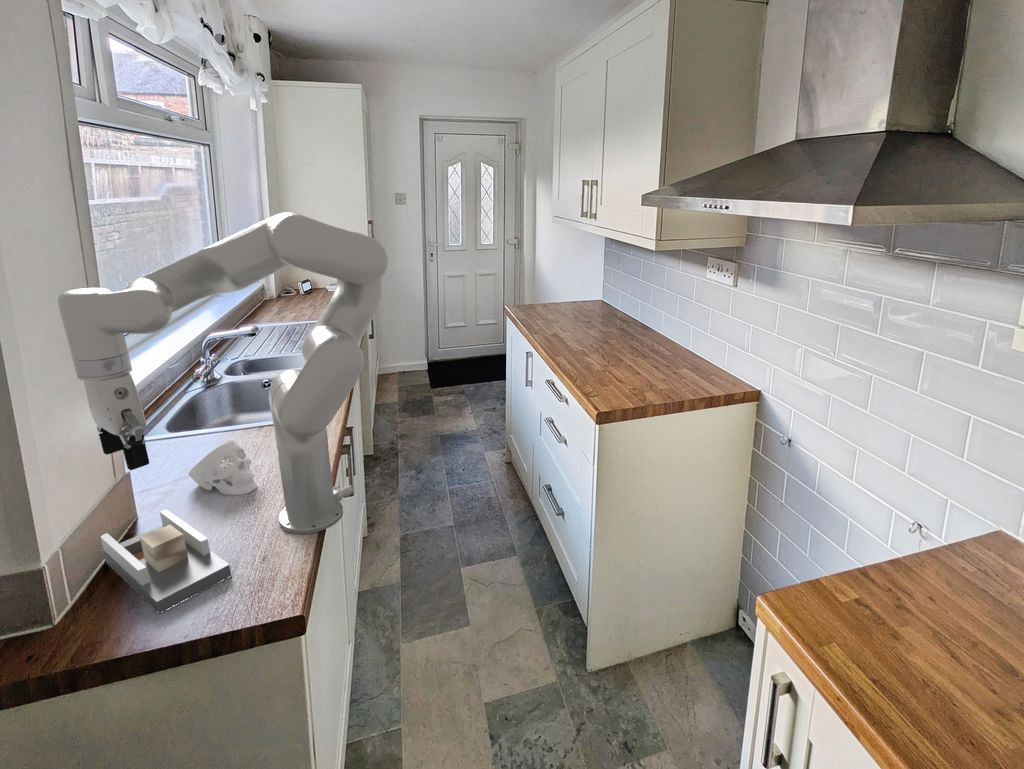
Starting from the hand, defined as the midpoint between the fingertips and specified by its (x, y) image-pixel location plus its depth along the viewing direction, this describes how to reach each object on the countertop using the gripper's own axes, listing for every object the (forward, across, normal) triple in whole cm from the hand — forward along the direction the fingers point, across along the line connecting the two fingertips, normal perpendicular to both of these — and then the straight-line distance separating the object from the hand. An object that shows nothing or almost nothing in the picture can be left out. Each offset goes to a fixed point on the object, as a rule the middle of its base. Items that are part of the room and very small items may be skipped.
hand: (126, 458), depth 101 cm
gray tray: (+20, -6, 0) cm, 21 cm away
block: (+18, -7, 0) cm, 19 cm away
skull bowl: (+21, +14, -22) cm, 34 cm away
